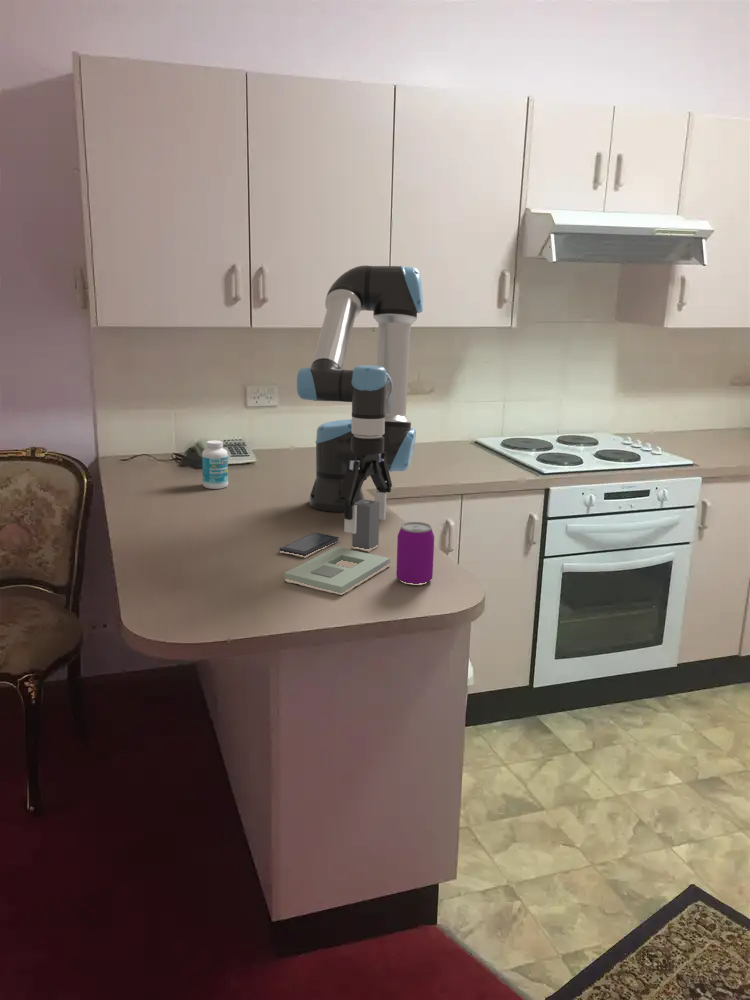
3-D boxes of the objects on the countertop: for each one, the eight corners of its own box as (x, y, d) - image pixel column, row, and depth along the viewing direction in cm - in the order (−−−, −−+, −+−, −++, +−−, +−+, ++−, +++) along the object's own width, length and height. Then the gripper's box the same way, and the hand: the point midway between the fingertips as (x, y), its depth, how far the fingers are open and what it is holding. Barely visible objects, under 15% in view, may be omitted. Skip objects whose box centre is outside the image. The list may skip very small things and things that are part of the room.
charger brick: (361, 543, 194) (362, 498, 191) (378, 547, 192) (379, 501, 189) (352, 548, 190) (352, 502, 187) (368, 552, 188) (369, 505, 185)
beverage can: (394, 574, 175) (396, 520, 172) (429, 573, 175) (432, 520, 172) (397, 587, 168) (399, 532, 164) (434, 587, 168) (437, 532, 165)
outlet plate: (336, 554, 186) (336, 545, 185) (389, 566, 179) (390, 557, 178) (284, 581, 169) (284, 572, 168) (341, 596, 162) (341, 585, 162)
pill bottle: (210, 491, 236) (209, 445, 232) (198, 485, 241) (196, 441, 238) (233, 487, 240) (232, 442, 237) (220, 482, 246) (219, 438, 242)
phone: (313, 536, 198) (313, 531, 197) (338, 542, 194) (338, 536, 194) (279, 552, 186) (279, 547, 186) (304, 558, 183) (304, 553, 182)
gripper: (380, 426, 196) (378, 511, 201) (323, 441, 175) (322, 535, 180) (408, 429, 192) (404, 515, 198) (353, 445, 171) (351, 541, 177)
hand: (365, 525), depth 189 cm, fingers open, 13 cm apart
